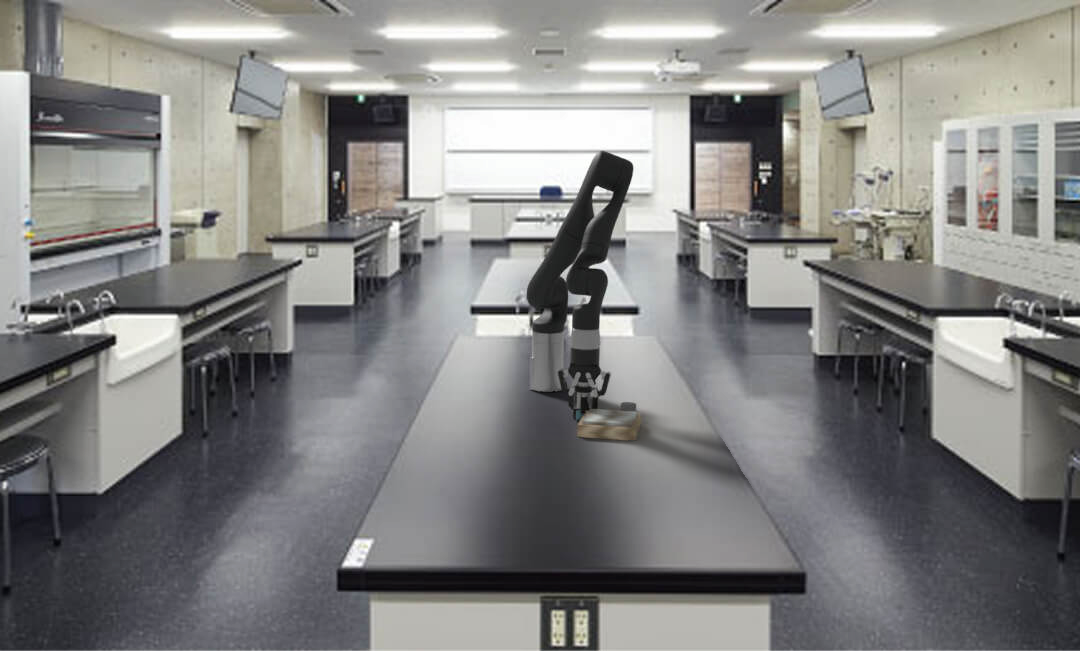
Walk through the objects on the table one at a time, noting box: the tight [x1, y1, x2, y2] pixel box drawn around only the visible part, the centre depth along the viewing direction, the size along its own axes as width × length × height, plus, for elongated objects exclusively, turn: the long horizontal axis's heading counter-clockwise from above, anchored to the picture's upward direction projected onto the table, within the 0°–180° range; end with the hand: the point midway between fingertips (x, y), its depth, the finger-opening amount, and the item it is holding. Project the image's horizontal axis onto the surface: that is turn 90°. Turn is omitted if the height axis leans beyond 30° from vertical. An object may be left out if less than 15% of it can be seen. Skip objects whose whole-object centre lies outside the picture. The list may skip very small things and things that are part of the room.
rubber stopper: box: [620, 401, 637, 412], centre depth 250 cm, size 4×4×4 cm
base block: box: [576, 408, 642, 441], centre depth 238 cm, size 14×14×4 cm
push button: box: [572, 382, 592, 422], centre depth 249 cm, size 7×5×10 cm
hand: (583, 409), depth 249 cm, fingers closed on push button, 5 cm apart
